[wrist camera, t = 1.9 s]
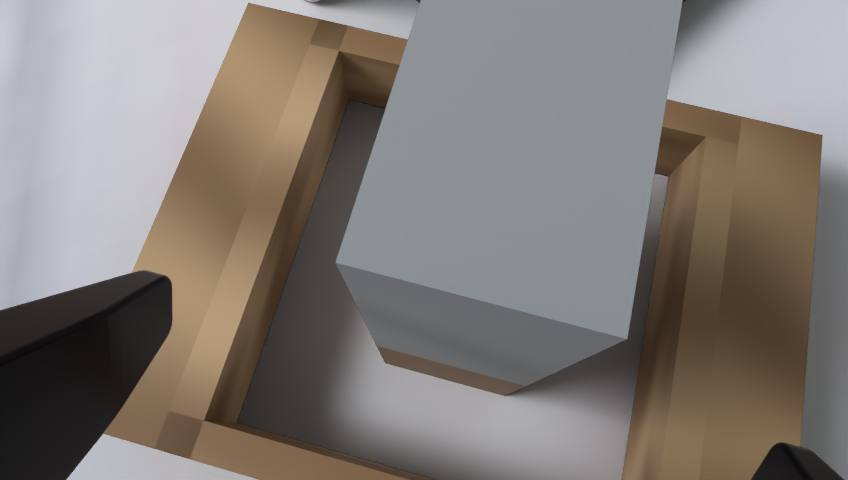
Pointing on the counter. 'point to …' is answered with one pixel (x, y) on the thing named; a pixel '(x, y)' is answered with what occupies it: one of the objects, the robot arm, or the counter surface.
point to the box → (511, 186)
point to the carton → (290, 207)
